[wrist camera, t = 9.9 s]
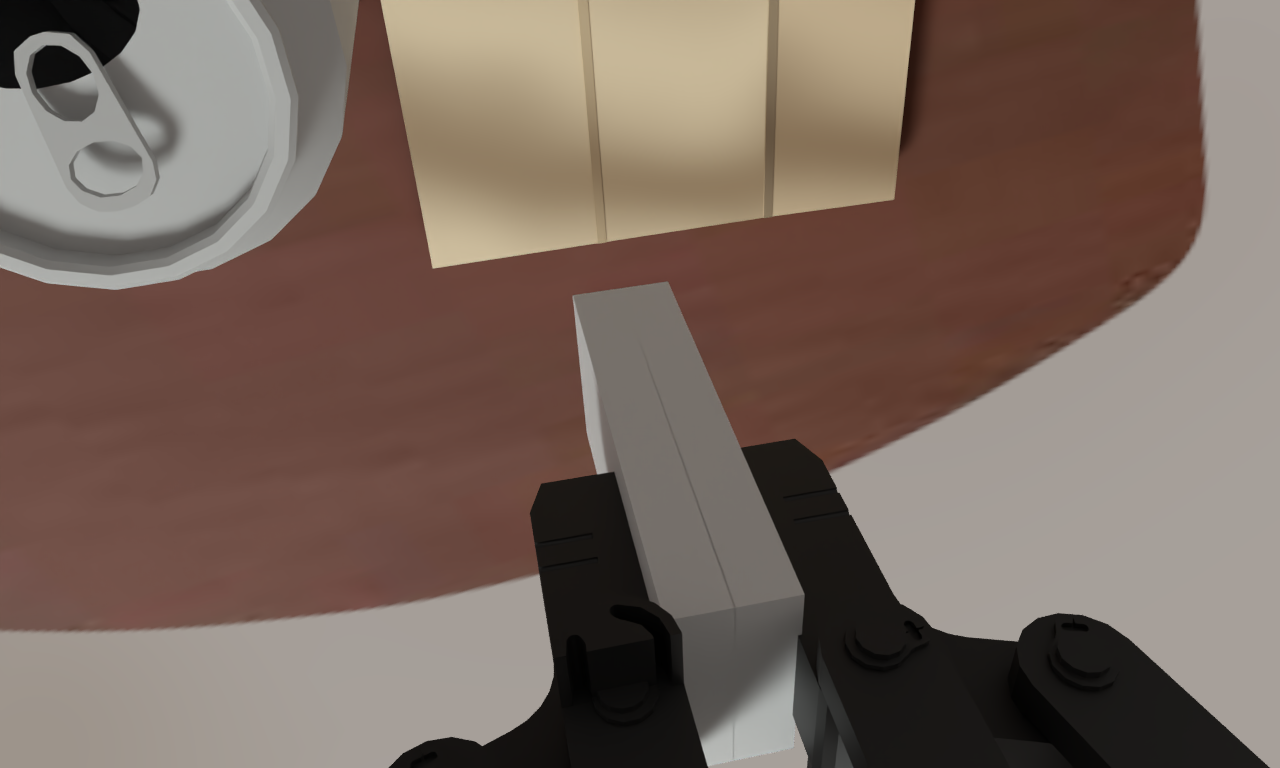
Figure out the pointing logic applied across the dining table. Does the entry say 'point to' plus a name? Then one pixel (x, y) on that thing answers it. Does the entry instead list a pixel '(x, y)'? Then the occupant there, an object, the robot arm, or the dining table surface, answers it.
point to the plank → (579, 119)
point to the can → (162, 131)
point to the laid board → (834, 102)
